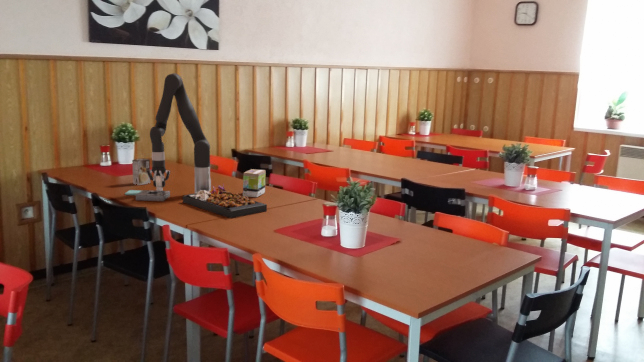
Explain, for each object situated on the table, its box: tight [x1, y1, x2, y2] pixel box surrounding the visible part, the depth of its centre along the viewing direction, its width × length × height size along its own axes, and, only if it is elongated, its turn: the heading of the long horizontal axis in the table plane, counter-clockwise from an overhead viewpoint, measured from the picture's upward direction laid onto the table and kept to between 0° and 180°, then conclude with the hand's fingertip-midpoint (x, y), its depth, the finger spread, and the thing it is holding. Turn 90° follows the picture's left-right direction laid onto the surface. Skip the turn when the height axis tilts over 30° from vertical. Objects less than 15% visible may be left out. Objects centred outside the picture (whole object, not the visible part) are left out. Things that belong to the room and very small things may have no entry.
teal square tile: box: [124, 189, 143, 196], centre depth 345 cm, size 9×9×1 cm
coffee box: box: [131, 158, 151, 186], centre depth 372 cm, size 9×6×16 cm
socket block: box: [135, 189, 171, 202], centre depth 335 cm, size 16×14×3 cm
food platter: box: [182, 184, 268, 219], centre depth 320 cm, size 45×25×10 cm, turn 46°
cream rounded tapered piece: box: [155, 176, 164, 191], centre depth 346 cm, size 4×4×10 cm
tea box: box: [242, 168, 267, 198], centre depth 353 cm, size 15×10×15 cm, turn 168°
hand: (159, 186), depth 347 cm, fingers closed on cream rounded tapered piece, 4 cm apart
